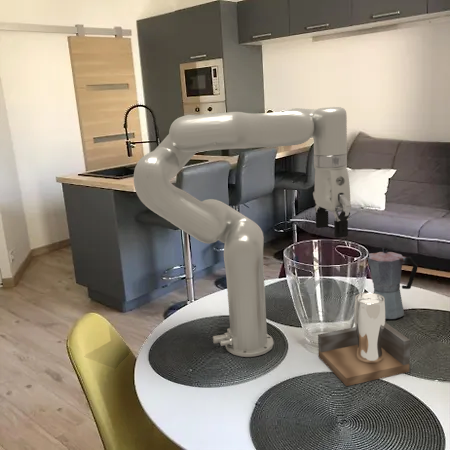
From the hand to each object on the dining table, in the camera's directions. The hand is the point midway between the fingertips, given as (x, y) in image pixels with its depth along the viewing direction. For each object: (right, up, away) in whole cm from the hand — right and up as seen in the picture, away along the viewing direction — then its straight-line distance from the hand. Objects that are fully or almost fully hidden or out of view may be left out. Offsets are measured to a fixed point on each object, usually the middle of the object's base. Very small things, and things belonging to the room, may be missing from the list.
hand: (331, 231), depth 124 cm
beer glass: (+8, -30, -3) cm, 31 cm away
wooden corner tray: (+7, -31, -2) cm, 32 cm away
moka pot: (+21, -24, +23) cm, 39 cm away
